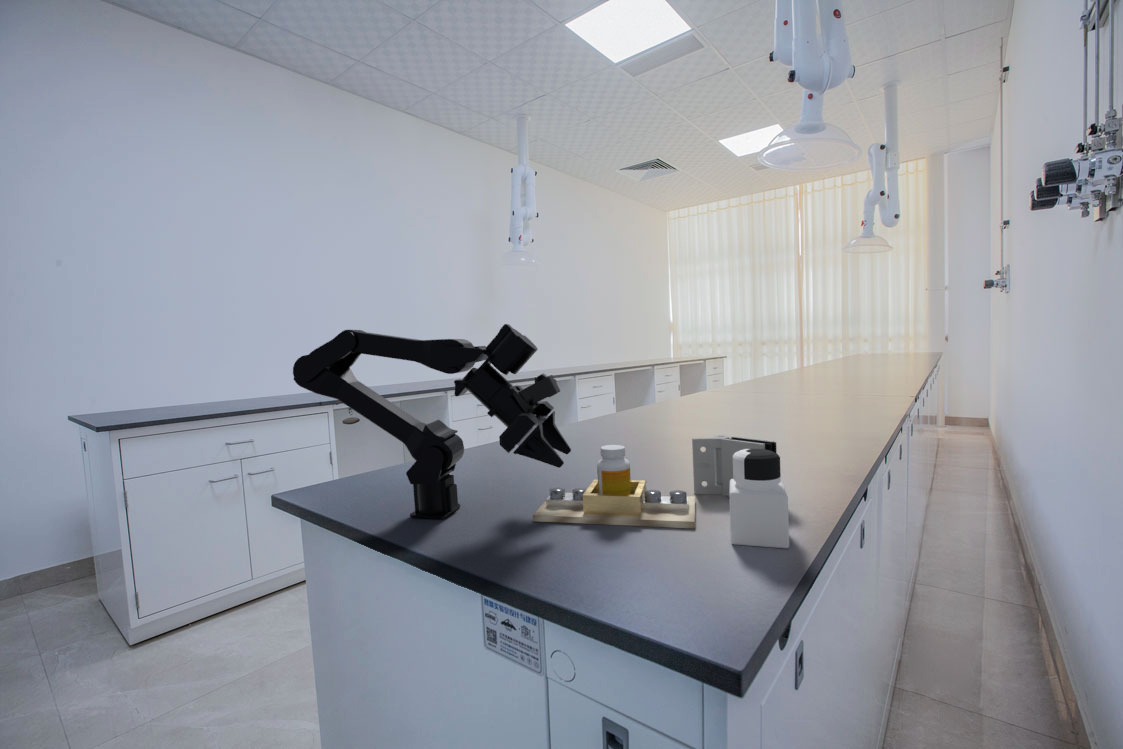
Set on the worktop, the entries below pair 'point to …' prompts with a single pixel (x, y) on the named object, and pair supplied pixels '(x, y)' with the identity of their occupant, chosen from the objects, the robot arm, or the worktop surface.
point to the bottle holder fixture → (618, 500)
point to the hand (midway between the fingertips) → (565, 458)
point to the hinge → (720, 461)
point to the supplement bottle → (613, 471)
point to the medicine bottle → (758, 500)
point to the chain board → (619, 517)
